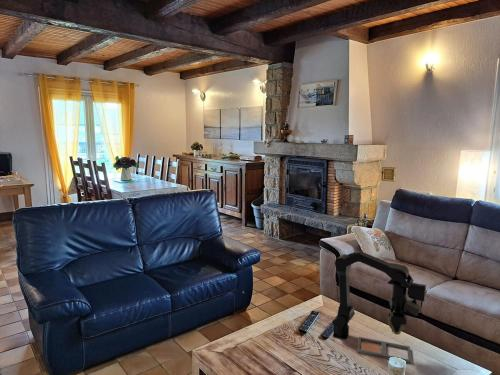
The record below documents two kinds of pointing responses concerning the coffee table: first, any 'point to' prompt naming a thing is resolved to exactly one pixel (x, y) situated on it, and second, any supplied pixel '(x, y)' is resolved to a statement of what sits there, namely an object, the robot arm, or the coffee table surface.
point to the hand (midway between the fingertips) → (396, 328)
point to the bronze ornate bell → (393, 328)
